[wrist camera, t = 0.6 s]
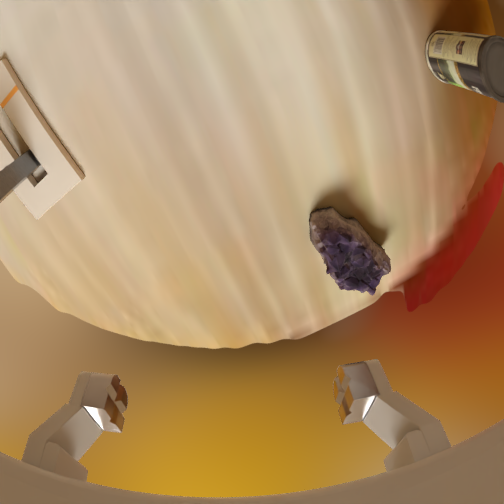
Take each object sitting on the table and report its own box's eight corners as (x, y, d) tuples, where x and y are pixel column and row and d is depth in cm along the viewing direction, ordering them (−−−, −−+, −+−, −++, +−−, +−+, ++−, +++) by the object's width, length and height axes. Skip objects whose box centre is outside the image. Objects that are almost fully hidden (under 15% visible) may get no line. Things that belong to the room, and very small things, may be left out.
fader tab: (45, 163, 41) (-7, 210, 28) (32, 176, 42) (-18, 226, 29) (32, 144, 38) (-25, 186, 25) (19, 159, 39) (-35, 204, 26)
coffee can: (467, 84, 38) (521, 105, 27) (426, 82, 38) (482, 100, 27) (463, 33, 32) (520, 43, 20) (421, 26, 32) (479, 29, 21)
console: (85, 176, 44) (81, 180, 42) (40, 216, 47) (36, 220, 45) (6, 58, 28) (0, 59, 27) (-32, 111, 31) (-38, 114, 29)
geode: (283, 236, 55) (299, 264, 47) (328, 190, 52) (352, 211, 43) (347, 287, 64) (366, 317, 55) (384, 250, 61) (409, 276, 52)
